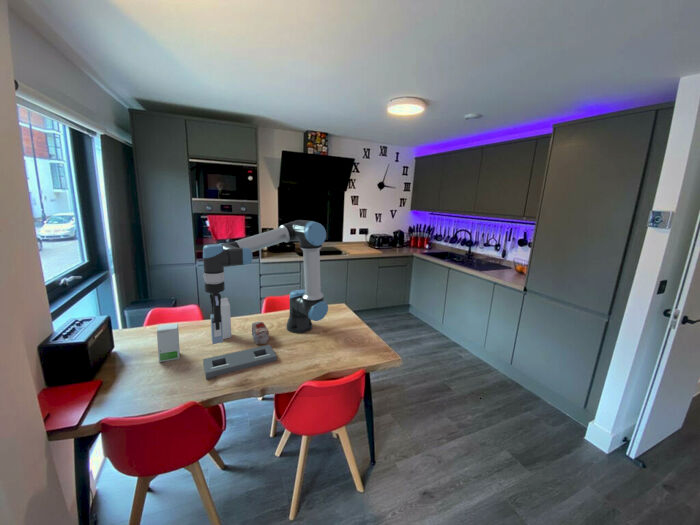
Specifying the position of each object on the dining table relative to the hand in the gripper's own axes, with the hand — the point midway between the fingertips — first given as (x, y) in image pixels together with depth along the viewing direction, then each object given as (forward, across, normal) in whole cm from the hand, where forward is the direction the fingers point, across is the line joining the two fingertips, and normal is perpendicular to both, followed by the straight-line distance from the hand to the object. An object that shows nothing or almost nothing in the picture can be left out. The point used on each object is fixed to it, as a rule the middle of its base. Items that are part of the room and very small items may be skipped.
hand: (217, 333), depth 124 cm
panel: (+17, 0, +9) cm, 19 cm away
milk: (+17, -31, +6) cm, 36 cm away
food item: (+17, -18, +23) cm, 34 cm away
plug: (+4, 0, 0) cm, 4 cm away
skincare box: (+17, -20, -19) cm, 32 cm away
